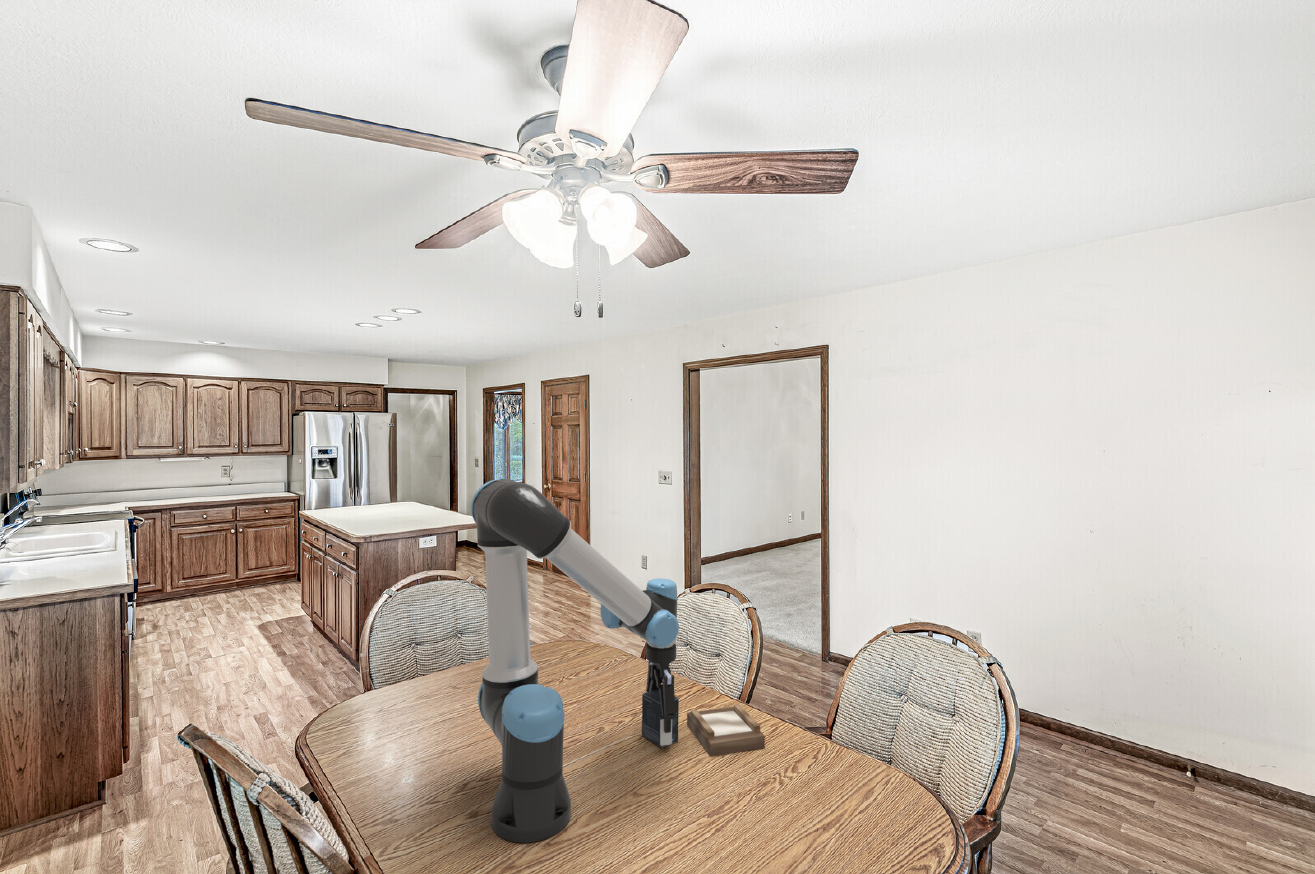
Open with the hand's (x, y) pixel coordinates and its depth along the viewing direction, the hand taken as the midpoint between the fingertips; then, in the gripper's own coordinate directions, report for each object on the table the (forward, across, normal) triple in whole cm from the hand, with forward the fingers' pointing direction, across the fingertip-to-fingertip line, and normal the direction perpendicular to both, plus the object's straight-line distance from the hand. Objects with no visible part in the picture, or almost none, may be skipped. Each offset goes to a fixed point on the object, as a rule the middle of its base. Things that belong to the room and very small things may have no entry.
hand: (659, 734), depth 145 cm
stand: (+1, -3, -16) cm, 16 cm away
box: (+1, 0, 0) cm, 1 cm away
